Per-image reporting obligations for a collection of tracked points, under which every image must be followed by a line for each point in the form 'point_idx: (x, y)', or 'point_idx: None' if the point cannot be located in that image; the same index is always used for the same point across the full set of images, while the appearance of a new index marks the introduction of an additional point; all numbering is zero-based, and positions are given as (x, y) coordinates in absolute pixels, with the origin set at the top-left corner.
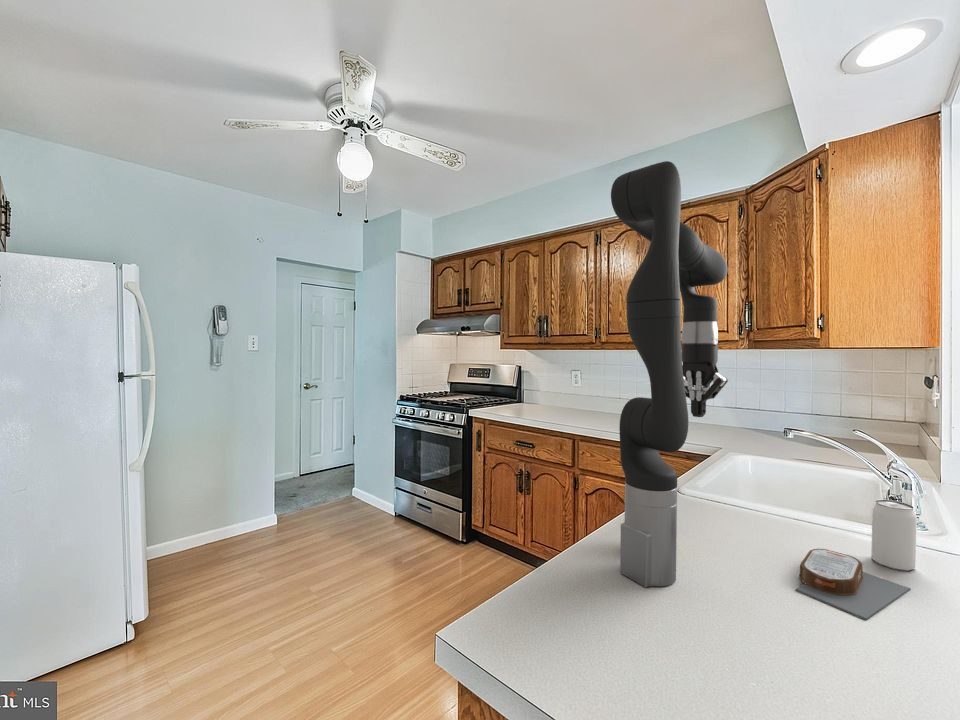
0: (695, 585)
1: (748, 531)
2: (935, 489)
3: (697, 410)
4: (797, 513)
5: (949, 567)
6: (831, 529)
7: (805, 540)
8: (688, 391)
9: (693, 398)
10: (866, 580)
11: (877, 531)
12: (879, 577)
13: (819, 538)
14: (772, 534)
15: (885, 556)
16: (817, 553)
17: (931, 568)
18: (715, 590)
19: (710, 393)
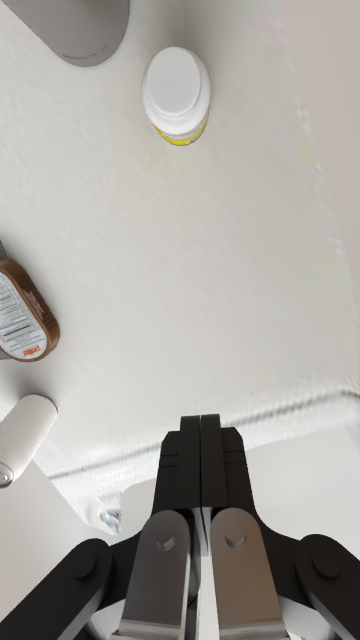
0: (29, 74)
1: (168, 347)
2: None
3: (184, 444)
4: None
5: None
6: (134, 445)
7: (117, 387)
8: (335, 634)
9: (218, 527)
10: None
11: (19, 424)
12: (8, 358)
13: (116, 407)
14: (147, 367)
15: (25, 401)
16: (38, 332)
17: None
18: (9, 98)
19: (25, 611)
